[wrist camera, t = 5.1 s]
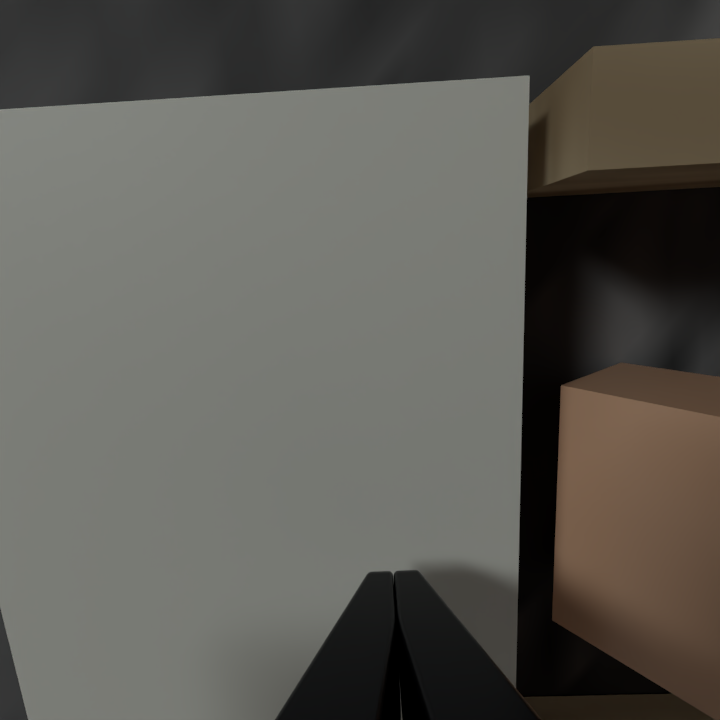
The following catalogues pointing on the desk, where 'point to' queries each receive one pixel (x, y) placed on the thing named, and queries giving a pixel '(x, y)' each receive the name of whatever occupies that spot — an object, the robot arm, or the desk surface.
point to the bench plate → (254, 383)
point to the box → (627, 174)
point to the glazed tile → (642, 524)
